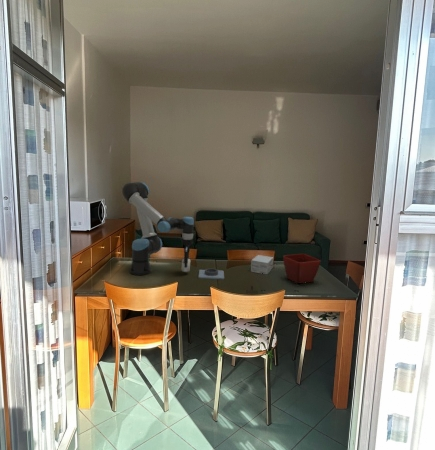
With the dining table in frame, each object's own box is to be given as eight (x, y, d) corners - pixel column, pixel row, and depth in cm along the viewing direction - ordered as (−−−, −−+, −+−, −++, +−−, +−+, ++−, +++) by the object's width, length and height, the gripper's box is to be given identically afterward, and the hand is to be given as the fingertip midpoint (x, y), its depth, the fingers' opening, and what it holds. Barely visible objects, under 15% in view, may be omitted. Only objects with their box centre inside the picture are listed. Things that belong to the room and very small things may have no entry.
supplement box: (256, 265, 270) (257, 254, 269) (272, 268, 265) (273, 257, 264) (250, 271, 255) (251, 259, 254) (267, 274, 250) (268, 262, 248)
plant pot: (280, 277, 245) (282, 255, 242) (301, 275, 253) (303, 253, 250) (296, 286, 228) (299, 262, 225) (319, 283, 236) (321, 260, 232)
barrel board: (198, 278, 235) (198, 273, 234) (199, 270, 251) (199, 266, 250) (224, 279, 235) (224, 274, 235) (223, 271, 251) (223, 267, 250)
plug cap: (181, 271, 239) (181, 260, 238) (181, 268, 245) (182, 258, 244) (189, 271, 239) (190, 261, 238) (190, 269, 245) (190, 258, 244)
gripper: (191, 242, 229) (190, 274, 233) (193, 235, 247) (191, 266, 252) (180, 241, 228) (179, 273, 233) (183, 235, 247) (181, 265, 251)
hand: (185, 269), depth 242 cm, fingers closed on plug cap, 6 cm apart
